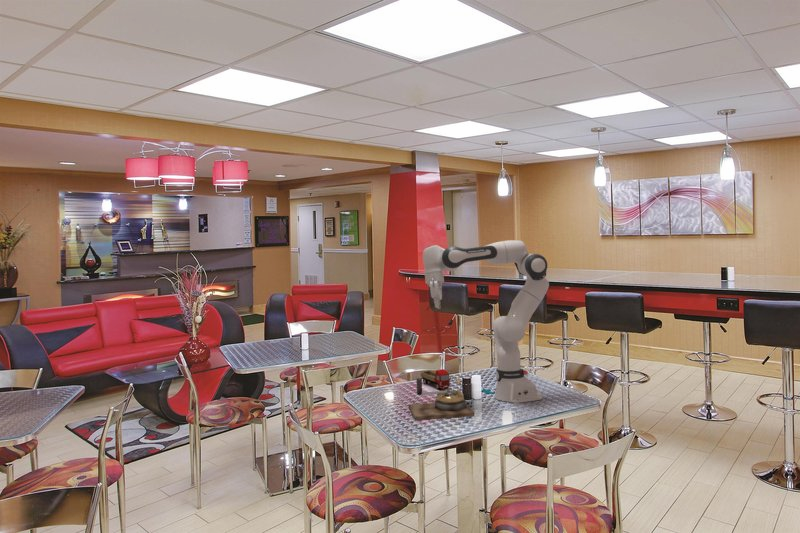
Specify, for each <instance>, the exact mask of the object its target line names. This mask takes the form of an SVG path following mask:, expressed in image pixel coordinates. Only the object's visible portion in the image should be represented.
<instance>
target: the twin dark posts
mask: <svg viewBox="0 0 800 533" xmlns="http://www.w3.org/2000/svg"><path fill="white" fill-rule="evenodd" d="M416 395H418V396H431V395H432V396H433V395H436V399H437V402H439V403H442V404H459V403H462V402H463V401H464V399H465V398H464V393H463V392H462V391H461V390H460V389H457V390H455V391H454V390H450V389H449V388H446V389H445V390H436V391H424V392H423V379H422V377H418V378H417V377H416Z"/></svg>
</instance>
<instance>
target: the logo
mask: <svg viewBox="0 0 800 533" xmlns="http://www.w3.org/2000/svg"><path fill="white" fill-rule="evenodd" d="M455 380H458V381H456V384H458V383H459V385H462V384H461V382H462V381H461V380H462V379H460V378H454V379H453V381H455ZM482 391H483V393H484V394H487V395H495V393H496V392H494V391H491V390H490V389H489V388H488V389H486V388H483V390H482ZM482 391H481V392H482Z"/></svg>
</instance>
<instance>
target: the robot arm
mask: <svg viewBox="0 0 800 533" xmlns="http://www.w3.org/2000/svg"><path fill="white" fill-rule="evenodd" d="M478 261H485V262H488V263H489V264H491V265H505V264H512V263H513V264H514V265H515V267H516V270H517V271H518V273H519V274H520V275H522V276H524V277H526V280H525V283H524V285H523V286H522V288H521V289H520V290H519V292H518V293H517V295H516V296H515V298H514V299H513V301H512V302H511V306H510V309H509V311H508V313H507V315H502V316H501V315H500V316H498V317H496V318H495V319H494V321H492V330H493V336H494V344H495V349H496V363H497V364H496V367H497V368H496V372H495V374H496V375H495V376H496V377H495V378H496V390H495V392H494V393H495V394H494V399H496V400H498V401H503V402H508V403H512V404H519V403H526V402H532V401H533V402H534V401H542V400H543V395H542V394H541V393H539V392H538V389H537V386H536V384H535V383H534V382H533V381H531V380H530V379H529V378H527V377H526V376H528V374H529V372H528V371H527V370H526V369H523V368H521V367H522V366H521V351H520V348H519V344H518V343H519V342H520V341H522V340H523V339H524V337H525V334H526V329H527V327H528V326H529V325H528V324H529V322H530V320H531V318H532V316H533V314H534V313H535V312H536V310H537V308H538V307H539V305H540V304H541V303H542V301H543V299H544V298H545V295H547V292H548V289H549V287H550V282H549V281H548V279H547V278H546V276H547V270H548V261H547V259H546V258H545V257H544V256H543V255H541V254H538V253H530V252H528V249H527V246H526V244H525V243H524V241H522V240H520V239H519V240H518V239H517V240H516V239H515V240H514V239H512V240H511V239H510V240H509V239H507V240H502V241H497V242H496V241H495V242H492V243H490V244H486V245H483V246H475V247H469V248H468V247H467V248H464V247H459V246H456V245H453V246H448V247H446V248H443V247H441V246H439V245H437V244H432V245H428V246H426V247H425V248H424V249H423V252H422V263H423V267H424V279H425V284H426V285H428V288H429V290H430V297H431V298H432V299H433V303H434V308H436V309H437V310H440V309H441V308H442V307H441V300H442V299H443V284H444V283H445V277H444V271H445V272H453V271H454V272H455V270H458V268H459V267H460V266H462V265H464V264H465V263H466V264H467V263H470V262H471V263H472V262H478Z"/></svg>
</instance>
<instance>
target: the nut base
mask: <svg viewBox="0 0 800 533" xmlns="http://www.w3.org/2000/svg"><path fill="white" fill-rule="evenodd" d="M408 409H409V411H410V413H411V415H412V417H413V419H414V420H415V421H424V420H434V419H435V420H436V419H437V420H438V419H439V420H440V419H449V418H465V417H466V418H467V417H475V412H474V410H472V408H471V407H470V406H469V405H468V404H467V400H466V399H465V398H464V401H463V402H462V403H459V404H442V403H439V402H437V398H436V399H435V400H434V402H429V403H427V402H426V403H413V404H412V403H411V404H408Z"/></svg>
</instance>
